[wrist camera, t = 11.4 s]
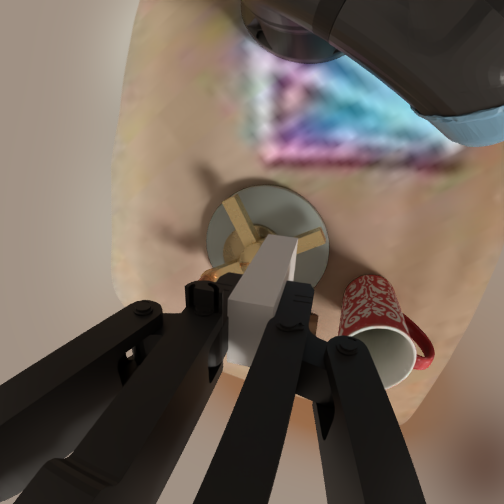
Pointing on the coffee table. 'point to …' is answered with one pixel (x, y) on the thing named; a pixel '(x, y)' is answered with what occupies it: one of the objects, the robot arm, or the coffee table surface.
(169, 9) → the coffee table surface
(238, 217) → the cam capstan
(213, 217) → the stand plate
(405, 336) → the mug
